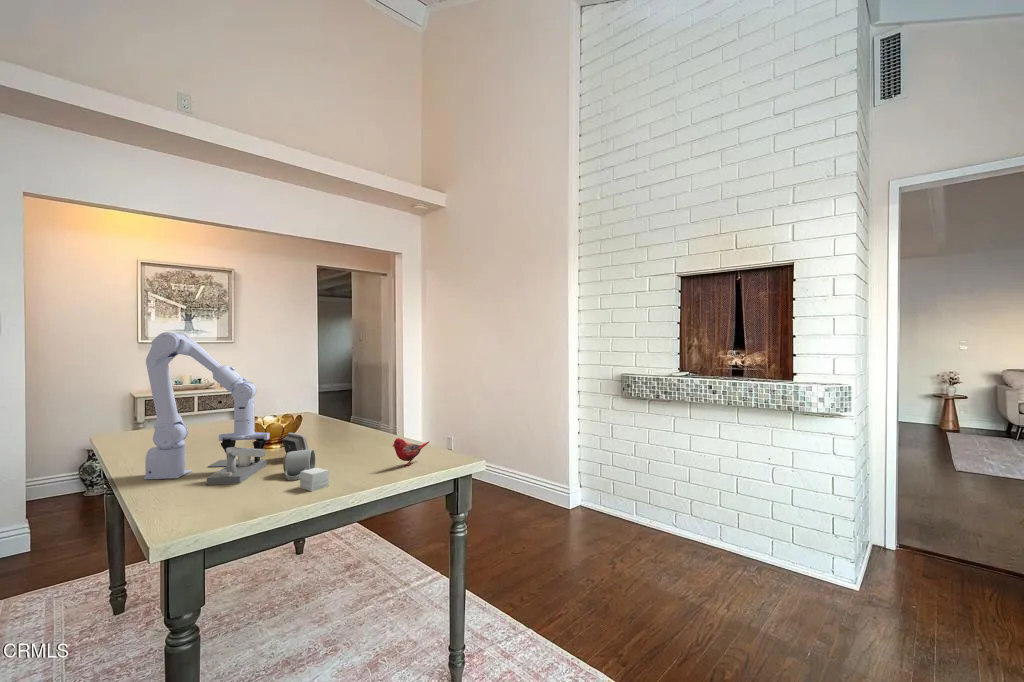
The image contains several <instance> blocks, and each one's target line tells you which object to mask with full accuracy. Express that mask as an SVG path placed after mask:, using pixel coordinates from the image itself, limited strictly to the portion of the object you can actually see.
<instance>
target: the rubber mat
mask: <svg viewBox="0 0 1024 682" xmlns="http://www.w3.org/2000/svg"><path fill="white" fill-rule="evenodd" d="M237 460H238V459H236V461H237ZM225 467H227V459H218V460H217V461H214V462H213V463H212V464H210V465H207V468H225Z"/></svg>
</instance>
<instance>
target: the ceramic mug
mask: <svg viewBox="0 0 1024 682" xmlns="http://www.w3.org/2000/svg"><path fill="white" fill-rule="evenodd" d="M282 460H283V462H282V468H283V473H284V475H285V478H286V479H287V480H289V481H298V480H300V472H301V471H304V470H309V469H313V468H316V453H315V450H314V449H313V448H309V449H308V450H300V451H291V452H288V453H286V452H285V454H284V457H283V459H282ZM297 479H298V480H297Z"/></svg>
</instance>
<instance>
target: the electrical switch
mask: <svg viewBox="0 0 1024 682" xmlns="http://www.w3.org/2000/svg"><path fill="white" fill-rule="evenodd" d="M281 441H282V444H283V448H284V451H285V454H286V453H288V452H291V451H300V450H308V449H310V448H309V445H308V442H307V439H306V435H304V434H301V433H295V432H288V433H287V435H286V436H285V437H283V438H281Z"/></svg>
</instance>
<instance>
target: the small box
mask: <svg viewBox="0 0 1024 682" xmlns="http://www.w3.org/2000/svg"><path fill="white" fill-rule="evenodd" d="M299 480H300V481H299V484H300V485H299V489H302V490H305V489H306V491H309V492H315V490H316V491H319V490H322V489H325V487H326V488H328V487H330V484H329V483H330V469H329V470H328V469H325V468H320V467H315V468H313V469H309V470H304V471H301V472H300V479H299ZM321 488H322V489H321ZM318 489H319V490H318Z"/></svg>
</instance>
